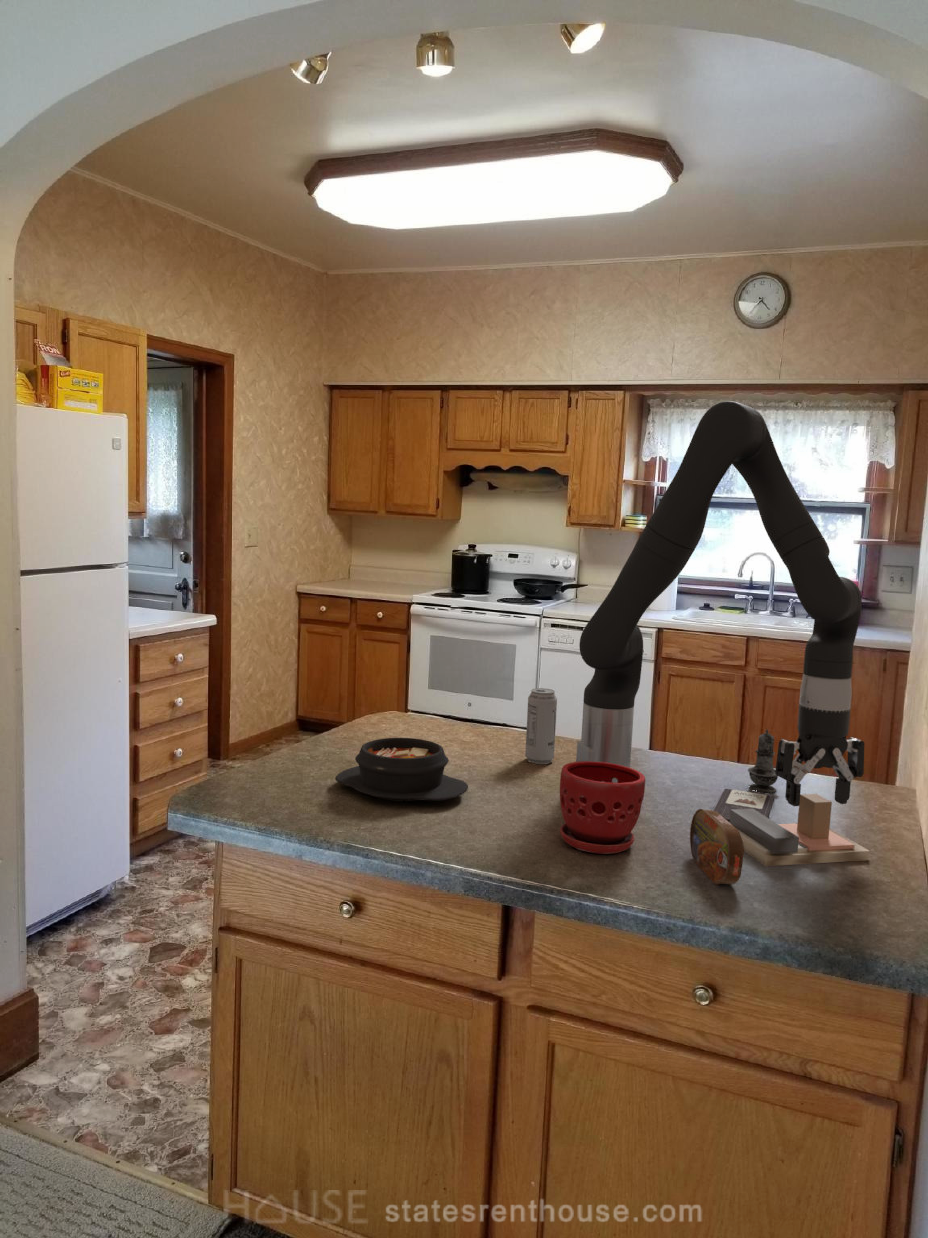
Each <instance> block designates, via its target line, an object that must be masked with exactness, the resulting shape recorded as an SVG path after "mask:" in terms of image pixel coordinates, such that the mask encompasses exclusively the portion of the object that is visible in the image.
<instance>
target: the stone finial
mask: <svg viewBox="0 0 928 1238" xmlns="http://www.w3.org/2000/svg"><path fill="white" fill-rule="evenodd" d="M769 732H770V730H769V729H767V728H766V729H765V732H763V733H761V734H760V735H759V736H758V746H757V750H755V753H756V762H755V764H754V766H752V767H749V768H748V769H747V772H748V774H749V778H750V780H751V782H753V783H751V784H750V785H748V786H750V787H749V789H748V790H750V791H752V790H755V791H756V790H757V792H756V793H758V792H760V793H759V794H765V793H769V794H771V793H772V794H776V793H777V788H775V787H774V786H773V785H774V784H775V783H776V782H777V781H778V778H779V776H777V775H776V774H775V770H776V769H775V768H774V765H773V764H774V763H773V762H774V756H775V755H776V753H775V751H774V746H775V737H774V736H773V735H772V734H770V733H769ZM775 792H776V793H775ZM769 794H768V795H769ZM772 794H771V795H772Z"/></svg>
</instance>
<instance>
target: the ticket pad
mask: <svg viewBox="0 0 928 1238" xmlns="http://www.w3.org/2000/svg"><path fill="white" fill-rule="evenodd" d="M730 823H731V824H732V825H733V826H734V827H735V828H736V829H737V830H738V831H739V833H740V835H741V837H742V840H743V846H744V853H746V854H747V855H749V857H751V858H752V859H754V860H755V861H757V862H758V863H760V865H763V866H764V867H776V866H792V865H809V864H811V865H812V864H826V863H844V862H845V863H846V862H863V861H869V859H870V850H869V849H867V848H866V847H864V846H862V845H860V844H859V843H856V842H855V841H853V840H851V839H849V838H848V837H846V836H844V835H843V834H841V833H839V832H837V831H835V830H834V829H832V828H831V827H830V828H829V830H830V831H831V832H833V833H835V834H837V835H838V836H840V837H842V838H844V839H845V840H847V841H849V842H851V843H852V844H854V845H855V846H854V849H836V850H818V851H808V850H807V847H806V846H804V845H802V844H801V843H799V837H798V836H796V835H794V834H793V833H791V832H790V831H788V830H786V829H785V828H783V827H781V826H780V825H778V824H779V823H776V822H775V821H773V820H772V819H770V818H769V817H768V818H767V817H765V816H764V815H762V814H760V813H759V812H757V811H756V810H754V809H731V811H730Z"/></svg>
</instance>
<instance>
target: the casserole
mask: <svg viewBox="0 0 928 1238" xmlns="http://www.w3.org/2000/svg"><path fill="white" fill-rule="evenodd" d="M354 759H355V762H356V763H357V766H353V767H349V768H346V769H345V770H342V771H341V772H339V773H338V774H337V775H335V781H336V782H337V783H339V784H342V785H344V786H348V787H350V788H353V789H354V790H356V791H358V792H360V793H361V794H362V793H363V794H365V795H368V796H371V797H375V798H377V799H381V800H387V801H393V802H395V801H396V802H411V801H419V800H420V801H434V802H435V801H436V802H437V801H438V802H440V801H446V800H448V801H449V800H452V799H454V798H456V797H459V796H461V795H464V794H466V792H468V789H469V785H468V783H467V782H465V781H463V780H461V779H458V778H454V777H451V776H448V775H446V774H444V771H445V767H446V766H447V765H449V761H450V760H449V758H448V757H447V755H446V754H445V751H444V748H443V746H442V745H440V744H439V743H436V742H434V741H430V740H426V739H423V738H421V739H420V738H414V737H412V738H411V737H387V738H379V739H374V740H370V741H367V742H365V743H363V745H361V747H360V750H359V752H358V754H357V755H356V756H355V757H354Z"/></svg>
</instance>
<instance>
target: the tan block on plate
mask: <svg viewBox="0 0 928 1238" xmlns="http://www.w3.org/2000/svg"><path fill="white" fill-rule="evenodd" d="M832 806H833V802H832V801H831V800H829V799H827V798H825V797H823V796H822V795H820V794H818V793H803V794H801V793H800V804H799V806H798V813H797V815H798V816H797V823H777V824H778V825H780V826H781V827H783V828H785V829H786V830H788V831H790V832H791V833H793V834H794V835H796V836H798V837H799V843H801V844H802V845H804V846H806V847H807V850H808V851H818V850H836V849H854V846H855V845H854V844H852V843H851V842H849V841H847V840H845V839H844V838H842V837H840V836H838V835H837V834H835V833H833V832H831V831H830V830H829V828H830V829H831V827H830V826H831V815H832Z"/></svg>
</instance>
